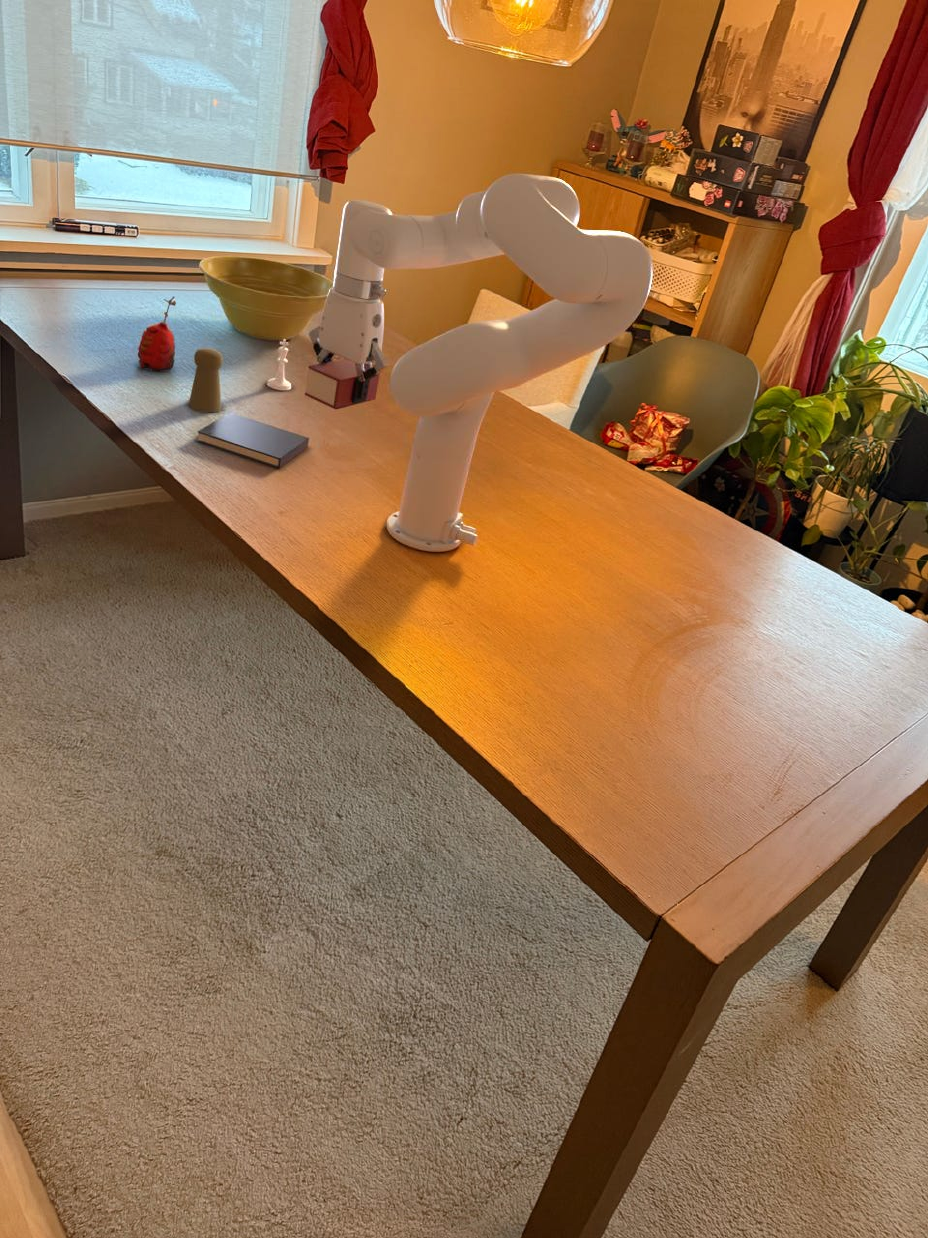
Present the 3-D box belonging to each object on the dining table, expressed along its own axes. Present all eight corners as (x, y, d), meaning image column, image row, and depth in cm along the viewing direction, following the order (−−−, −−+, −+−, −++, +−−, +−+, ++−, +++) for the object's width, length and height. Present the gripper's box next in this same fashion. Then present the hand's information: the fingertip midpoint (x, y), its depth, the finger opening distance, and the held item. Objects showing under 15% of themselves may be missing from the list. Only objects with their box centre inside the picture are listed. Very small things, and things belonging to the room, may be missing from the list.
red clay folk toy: (147, 357, 190) (149, 284, 182) (180, 366, 190) (184, 293, 182) (132, 368, 183) (134, 292, 175) (166, 376, 183) (170, 301, 176)
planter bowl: (170, 308, 220) (173, 251, 213) (284, 308, 241) (290, 256, 234) (239, 357, 202) (245, 296, 195) (356, 353, 223) (365, 297, 216)
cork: (213, 414, 173) (217, 358, 167) (183, 406, 173) (186, 349, 167) (226, 405, 178) (231, 350, 172) (197, 397, 178) (201, 341, 172)
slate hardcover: (307, 447, 170) (309, 437, 169) (279, 468, 160) (280, 458, 158) (229, 422, 172) (230, 412, 170) (196, 441, 161) (197, 431, 160)
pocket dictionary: (375, 399, 156) (380, 371, 154) (335, 409, 148) (340, 380, 146) (345, 385, 159) (349, 357, 156) (304, 394, 151) (308, 365, 148)
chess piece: (293, 391, 192) (299, 344, 187) (269, 389, 190) (275, 342, 185) (288, 382, 196) (293, 336, 191) (265, 380, 194) (270, 334, 189)
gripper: (414, 301, 144) (395, 408, 153) (331, 268, 150) (317, 373, 160) (385, 305, 138) (367, 416, 147) (300, 270, 144) (287, 379, 154)
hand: (341, 393), depth 153 cm, fingers closed on pocket dictionary, 6 cm apart
